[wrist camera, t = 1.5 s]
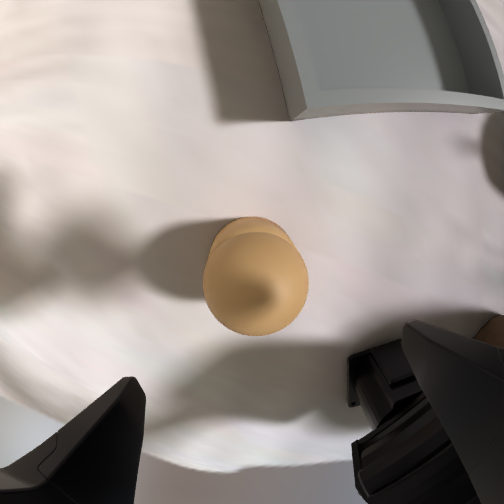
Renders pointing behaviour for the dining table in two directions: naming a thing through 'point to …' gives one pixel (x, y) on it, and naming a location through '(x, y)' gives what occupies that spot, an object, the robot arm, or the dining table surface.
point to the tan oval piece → (254, 277)
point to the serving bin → (383, 57)
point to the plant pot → (493, 332)
